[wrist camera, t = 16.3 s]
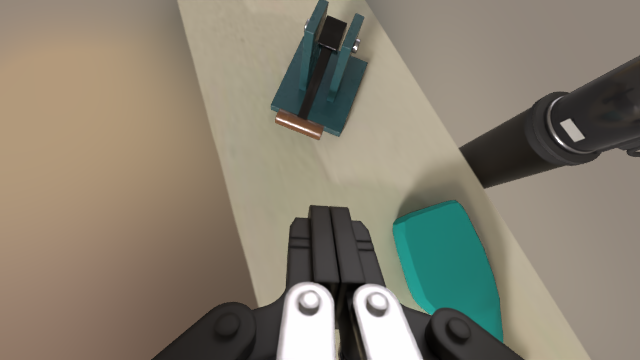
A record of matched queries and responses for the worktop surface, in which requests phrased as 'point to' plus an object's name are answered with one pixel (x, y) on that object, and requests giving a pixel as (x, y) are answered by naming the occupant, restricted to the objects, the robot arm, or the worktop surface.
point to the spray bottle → (448, 264)
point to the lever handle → (315, 81)
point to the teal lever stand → (336, 80)
